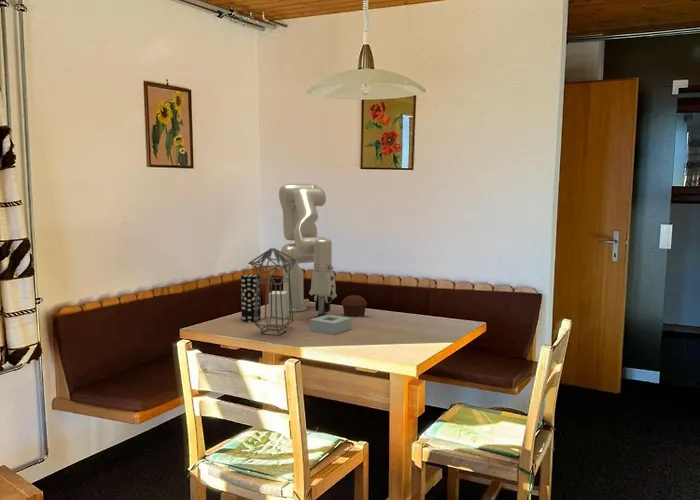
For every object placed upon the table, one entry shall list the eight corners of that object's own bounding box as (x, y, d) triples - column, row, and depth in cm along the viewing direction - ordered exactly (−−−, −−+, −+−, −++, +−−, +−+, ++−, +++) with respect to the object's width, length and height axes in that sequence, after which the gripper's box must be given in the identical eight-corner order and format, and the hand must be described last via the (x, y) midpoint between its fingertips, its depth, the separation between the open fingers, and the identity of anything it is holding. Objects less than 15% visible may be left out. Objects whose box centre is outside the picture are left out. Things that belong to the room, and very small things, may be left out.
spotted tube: (259, 322, 282) (258, 277, 280) (240, 322, 282) (239, 276, 280) (262, 318, 291) (261, 274, 288) (243, 318, 291) (242, 274, 288)
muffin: (368, 315, 297) (368, 293, 296) (366, 320, 286) (366, 298, 285) (342, 314, 298) (342, 293, 297) (339, 320, 288) (339, 297, 286)
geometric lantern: (299, 330, 268) (298, 246, 263) (282, 340, 253) (281, 251, 248) (264, 326, 273) (264, 244, 268) (246, 336, 259) (245, 249, 254)
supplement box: (288, 318, 290) (288, 290, 288) (285, 322, 282) (285, 293, 281) (272, 318, 291) (272, 290, 289) (268, 322, 283) (268, 293, 282)
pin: (321, 321, 278) (321, 289, 276) (329, 322, 275) (329, 290, 274) (315, 323, 274) (315, 290, 273) (323, 324, 272) (323, 291, 270)
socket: (327, 328, 271) (327, 314, 270) (351, 332, 264) (351, 318, 264) (309, 334, 261) (309, 319, 261) (333, 338, 254) (333, 323, 254)
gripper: (344, 268, 271) (344, 312, 273) (312, 265, 280) (312, 307, 282) (333, 271, 264) (333, 315, 266) (301, 267, 274) (301, 310, 276)
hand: (322, 310), depth 274 cm, fingers closed on pin, 4 cm apart
